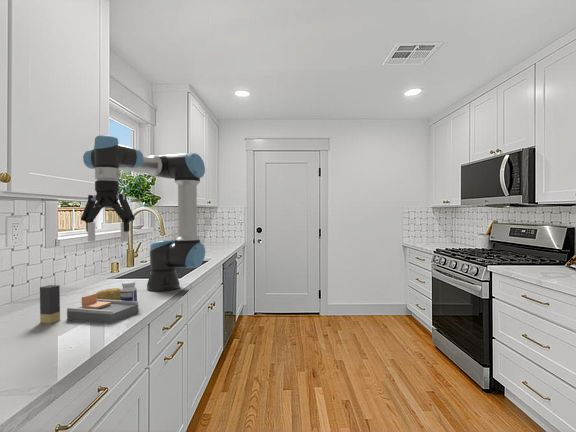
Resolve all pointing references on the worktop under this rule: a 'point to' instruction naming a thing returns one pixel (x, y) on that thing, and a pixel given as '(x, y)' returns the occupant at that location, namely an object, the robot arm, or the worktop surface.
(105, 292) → the potato
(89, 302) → the shutter
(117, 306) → the grey slab
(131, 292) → the pill bottle
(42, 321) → the plug
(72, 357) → the worktop surface
